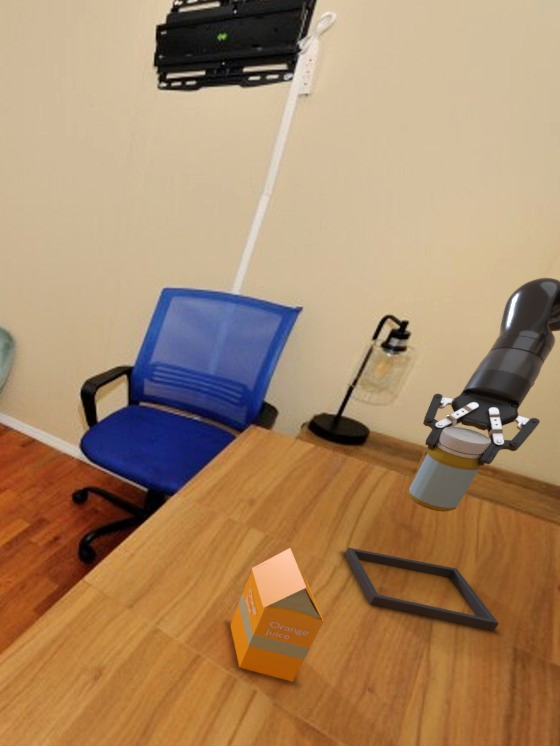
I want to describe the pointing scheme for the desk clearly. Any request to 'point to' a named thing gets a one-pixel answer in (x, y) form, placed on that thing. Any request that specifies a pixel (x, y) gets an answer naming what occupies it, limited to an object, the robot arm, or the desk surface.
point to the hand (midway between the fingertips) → (455, 455)
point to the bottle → (449, 469)
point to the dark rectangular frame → (479, 621)
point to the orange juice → (275, 619)
